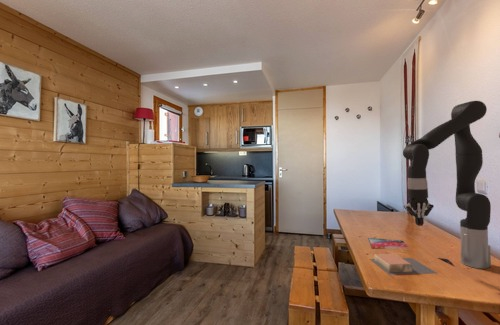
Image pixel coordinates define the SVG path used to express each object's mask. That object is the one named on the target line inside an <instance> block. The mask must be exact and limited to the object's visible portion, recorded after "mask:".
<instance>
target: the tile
mask: <svg viewBox="0 0 500 325" xmlns="http://www.w3.org/2000/svg"><path fill="white" fill-rule="evenodd" d="M402 258H403V257H401V256H399V255H397V254H396V253H380V254H379V253H376V254H373V259H374V261H375V262H377V263H378V264H379V265H380V266H382V267H383V268H384V269H386V270H387V271H388V272H412V264H410V263H409V262H407V261H405V260H404V259H402Z"/></svg>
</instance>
